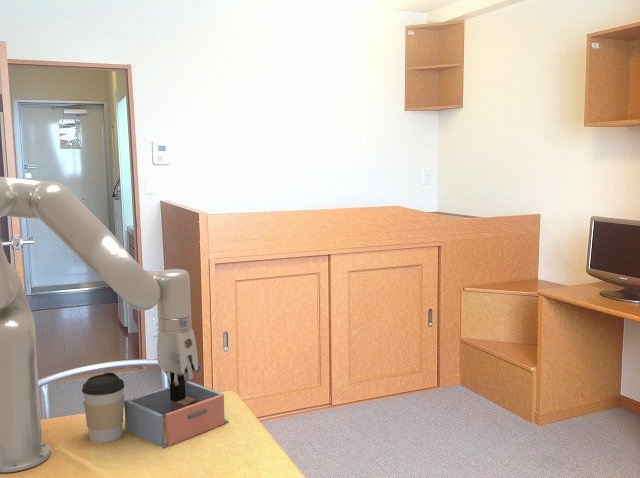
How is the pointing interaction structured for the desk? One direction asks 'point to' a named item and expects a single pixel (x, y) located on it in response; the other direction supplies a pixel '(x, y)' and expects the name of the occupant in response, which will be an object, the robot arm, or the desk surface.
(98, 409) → the coffee cup
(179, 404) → the cargo block
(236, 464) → the desk surface
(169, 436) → the tailgate
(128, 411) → the tray
